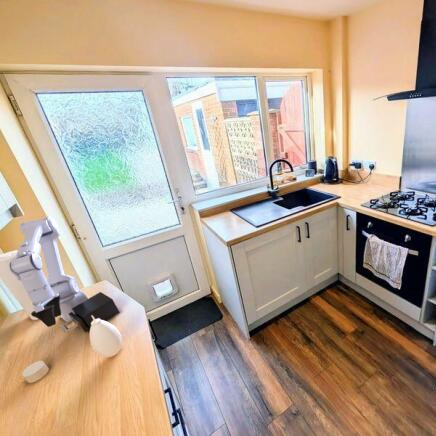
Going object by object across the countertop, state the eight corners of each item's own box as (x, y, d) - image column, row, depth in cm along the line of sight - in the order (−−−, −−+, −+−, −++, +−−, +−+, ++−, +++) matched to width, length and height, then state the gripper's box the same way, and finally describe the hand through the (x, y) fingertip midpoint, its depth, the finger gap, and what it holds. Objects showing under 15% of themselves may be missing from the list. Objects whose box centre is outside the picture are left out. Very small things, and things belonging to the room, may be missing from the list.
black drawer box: (91, 331, 96) (82, 317, 93) (80, 322, 101) (71, 308, 98) (119, 312, 104) (112, 298, 101) (107, 304, 109) (100, 291, 106)
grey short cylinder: (45, 364, 85) (40, 357, 83) (51, 370, 82) (46, 364, 81) (24, 378, 81) (19, 372, 79) (30, 385, 78) (24, 379, 77)
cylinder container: (26, 323, 104) (-18, 265, 91) (35, 309, 112) (-5, 254, 99) (54, 313, 108) (15, 256, 95) (61, 300, 115) (25, 246, 103)
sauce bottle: (130, 351, 86) (108, 313, 78) (104, 368, 81) (78, 329, 73) (123, 339, 91) (103, 302, 83) (98, 354, 86) (74, 317, 78)
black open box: (72, 341, 91) (64, 330, 89) (62, 332, 96) (54, 321, 94) (111, 315, 102) (105, 304, 99) (100, 308, 107) (94, 297, 104)
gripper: (46, 289, 82) (64, 323, 86) (57, 277, 95) (72, 307, 98) (18, 299, 79) (37, 334, 82) (33, 285, 91) (49, 316, 94)
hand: (55, 320), depth 90 cm, fingers open, 7 cm apart
